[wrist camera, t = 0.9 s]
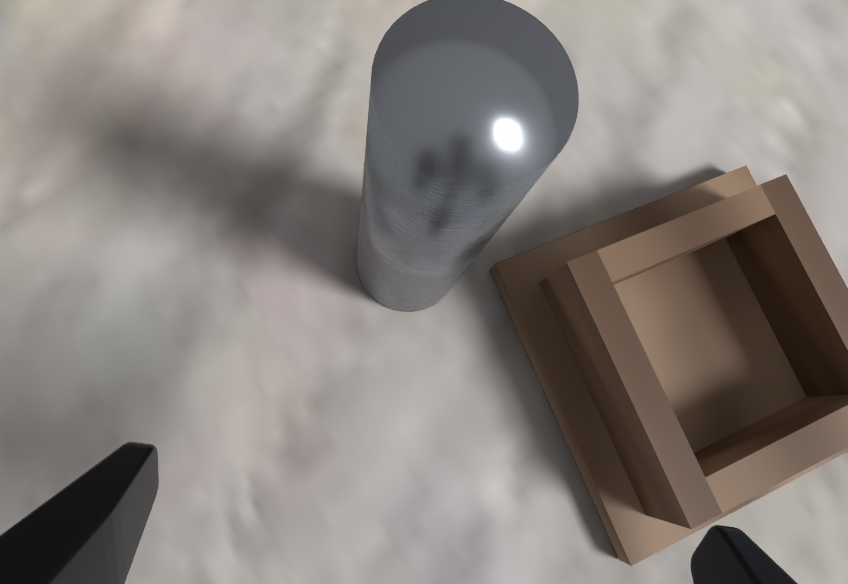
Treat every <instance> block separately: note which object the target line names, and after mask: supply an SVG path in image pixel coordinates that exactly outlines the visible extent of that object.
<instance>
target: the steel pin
mask: <svg viewBox="0 0 848 584" xmlns="http://www.w3.org/2000/svg"><path fill="white" fill-rule="evenodd" d="M577 112H578V86H577V80H576V76H575V72H574V69H573V66H572V64H571V61H570V59H569V57H568V55H567V53H566V52H565V50H564V48H563V46H562V45H561V43H560V42H559V41H558V39H557V38H556V37H555V35H554V34H553V33H552V32H551V31H550V30H549V29H548V28H547V27H546V26H545V25H544V24H543V23H541V22H540V21H539V20H538V19H537V18H536V17H534V16H533V15H531V14H530V13H528V12H527V11H525V10H523V9H521V8H519V7H517V6H516V5H514V4H511V3H509V2H506V1H503V0H428V1H425V2H423V3H421V4H419V5H417V6H415V7H413V8H412V9H410V10H409V11H407V12H406V13H405V14H403V15H402V16H401V17H400V18H399V19H398V20H397V21H396V22H394V23H393V25H392V26H391V27H390V28H389V30H388V31H387V32H386V34H385V35H384V37H383V39H382V40H381V42H380V44H379V46H378V49H377V51H376V54H375V57H374V62H373V66H372V75H371V87H370V100H369V112H368V125H367V137H366V150H365V162H364V175H363V187H362V200H361V212H360V225H359V237H358V250H357V270H358V275H359V278H360V281H361V283H362V285H363V287H364V288H365V290H366V291H367V292H368V293H369V295H370V296H371V297H372V298H373V299H375V300H376V301H377V302H379V303H380V304H382V305H383V306H385V307H387V308H390V309H393V310H397V311H404V312H413V311H419V310H423V309H426V308H428V307H430V306H433V305H434V304H436V303H437V302H439V301H440V300H441V299H442V298H443V297H444V296H445V295H446V294H447V292H448V291H449V290H450V289H451V288H452V286H453V285H454V284H455V283H456V281H457V280H458V279H459V278H460V276H461V275H462V274H463V273H464V271H465V270H466V269H467V268H468V266H469V265H470V264H471V263H472V261H473V260H474V259H475V258H476V256H477V255H478V254H479V253H480V251H481V250H482V249H483V248H484V246H485V245H486V244H487V243H488V241H489V240H490V239H491V238H492V236H493V235H494V234H495V233H496V231H497V230H498V229H499V228H500V226H501V225H502V224H503V223H504V221H505V220H506V219H507V218H508V216H509V215H510V214H511V213H512V211H513V210H514V209H515V208H516V206H517V205H518V204H519V203H520V202H521V200H522V199H523V198H524V197H525V195H526V194H527V193H528V192H529V190H530V189H531V188H532V187H533V185H534V184H535V183H536V182H537V180H538V179H539V178H540V177H541V175H542V174H543V173H544V172H545V170H546V169H547V168H548V167H549V165H550V164H551V163H552V162H553V160H554V159H555V158H556V157H557V155H558V154H559V153H560V152H561V150H562V149H563V147H564V146H565V144H566V143H567V141H568V140H569V137H570V135H571V133H572V131H573V128H574V125H575V122H576V118H577Z"/></svg>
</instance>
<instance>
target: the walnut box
mask: <svg viewBox="0 0 848 584" xmlns="http://www.w3.org/2000/svg"><path fill="white" fill-rule="evenodd" d="M490 271H491V274H492V276H493V278H494V280H495V282H496V285H497V287H498V289H499V291H500V294H501V296H502V298H503V300H504V303H505V305H506V307H507V309H508V312H509V314H510V316H511V318H512V321H513V323H514V325H515V327H516V330H517V332H518V334H519V336H520V339H521V341H522V343H523V345H524V348H525V350H526V352H527V354H528V357H529V359H530V361H531V363H532V365H533V368H534V370H535V372H536V374H537V377H538V379H539V381H540V383H541V386H542V388H543V390H544V392H545V395H546V397H547V399H548V401H549V404H550V406H551V408H552V410H553V413H554V415H555V417H556V419H557V422H558V424H559V426H560V428H561V431H562V433H563V435H564V437H565V439H566V442H567V444H568V446H569V448H570V451H571V453H572V455H573V457H574V460H575V462H576V464H577V466H578V469H579V471H580V473H581V475H582V478H583V480H584V482H585V484H586V487H587V489H588V491H589V493H590V496H591V498H592V500H593V502H594V505H595V507H596V509H597V511H598V514H599V516H600V518H601V520H602V522H603V525H604V527H605V529H606V531H607V534H608V536H609V538H610V540H611V543H612V545H613V547H614V549H615V552H616V554H617V556H618V558H619V560H621V561H623V562H625V563H627V564H629V565H631V566H632V565H634V564H636V563H638V562H640V561H641V560H643V559H645V558H647V557H649V556H651V555H653V554H655V553H657V552H658V551H660V550H662V549H664V548H666V547H668V546H670V545H672V544H674V543H675V542H677V541H679V540H681V539H683V538H685V537H687V536H689V535H691V534H692V533H694V532H696V531H698V530H700V529H702V528H704V527H706V526H708V525H709V524H711V523H713V522H715V521H717V520H719V519H721V518H723V517H725V516H726V515H728V514H730V513H732V512H734V511H736V510H738V509H740V508H742V507H743V506H745V505H747V504H749V503H751V502H753V501H755V500H757V499H759V498H761V497H762V496H764V495H766V494H768V493H770V492H772V491H774V490H776V489H778V488H779V487H781V486H783V485H785V484H787V483H789V482H791V481H793V480H795V479H796V478H798V477H800V476H802V475H804V474H806V473H808V472H810V471H812V470H813V469H815V468H817V467H819V466H821V465H823V464H825V463H827V462H829V461H830V460H832V459H834V458H836V457H838V456H840V455H842V454H844V453H846V452H847V451H848V288H847V287H846V285H845V283H844V281H843V279H842V277H841V275H840V273H839V272H838V270H837V268H836V266H835V264H834V262H833V260H832V259H831V257H830V255H829V253H828V251H827V249H826V247H825V246H824V244H823V242H822V240H821V238H820V236H819V234H818V233H817V231H816V229H815V227H814V225H813V223H812V221H811V219H810V218H809V216H808V214H807V212H806V210H805V208H804V206H803V205H802V203H801V201H800V199H799V197H798V195H797V193H796V192H795V190H794V188H793V186H792V184H791V182H790V180H789V179H788V177H787V175H783V176H781V177H778V178H776V179H773V180H771V181H768V182H766V183H763V184H761V185H758V186H757V185H756V183H755V181H754V179H753V178H752V176H751V174H750V172H749V170H748V168H747V166H744V167H741V168H739V169H736V170H733V171H731V172H728V173H726V174H723V175H721V176H718V177H716V178H713V179H710V180H708V181H705V182H703V183H700V184H698V185H695V186H693V187H690V188H687V189H685V190H682V191H680V192H677V193H675V194H672V195H670V196H667V197H664V198H662V199H659V200H657V201H654V202H652V203H649V204H647V205H644V206H642V207H639V208H636V209H634V210H631V211H629V212H626V213H624V214H621V215H619V216H616V217H613V218H611V219H608V220H606V221H603V222H601V223H598V224H596V225H593V226H590V227H588V228H585V229H583V230H580V231H578V232H575V233H573V234H570V235H567V236H565V237H562V238H560V239H557V240H555V241H552V242H550V243H547V244H545V245H542V246H539V247H537V248H534V249H532V250H529V251H527V252H524V253H522V254H519V255H516V256H514V257H511V258H509V259H506V260H504V261H501V262H499V263H496V264H495V265H494V266H493V267H492V268H491V269H490Z"/></svg>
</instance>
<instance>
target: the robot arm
mask: <svg viewBox="0 0 848 584" xmlns="http://www.w3.org/2000/svg"><path fill="white" fill-rule="evenodd" d="M158 483H159V479H158V453H157V449H156V447H155V446H154V445H151V444H144V443H137V442H128V443H126V444H124V445H122V446H121V447H120V448H118V449H117V450H115V451H114V452H113V453H111V454H110V455H109V456H107V457H106V458H105V459H103V460H102V461H101V462H99V463H98V464H96V465H95V466H94V467H92V468H91V469H90V470H88V471H87V472H86V473H84V474H83V475H82V476H80V477H79V478H78V479H76V480H75V481H73V482H72V483H71V484H69V485H68V486H67V487H65V488H64V489H63V490H61V491H60V492H59V493H57V494H56V495H54V496H53V497H52V498H50V499H49V500H48V501H46V502H45V503H44V504H42V505H41V506H40V507H38V508H37V509H36V510H34V511H33V512H31V513H30V514H29V515H27V516H26V517H25V518H23V519H22V520H21V521H19V522H18V523H17V524H15V525H14V526H12V527H11V528H10V529H8V530H7V531H6V532H4V533H3V534H2V535H0V584H124V583H125V580H126V578H127V575H128V572H129V569H130V567H131V564H132V561H133V558H134V555H135V553H136V550H137V547H138V544H139V542H140V539H141V536H142V533H143V531H144V528H145V525H146V522H147V520H148V517H149V514H150V511H151V509H152V506H153V503H154V500H155V497H156V494H157V490H158ZM691 573H692V578H693V583H694V584H797V583H796V582H795V581H794V580H793V579H792V578H791V577H790V576H789V575H788V574H787V573H786V572H785V571H784V570H783V569H782V568H781V567H780V566H779V565H778V564H776V563H775V562H774V561H773V560H772V559H771V558H770V557H769V556H768V555H767V554H766V553H765V552H764V551H763V550H762V549H761V548H760V547H759V546H758V545H757V544H755V543H754V542H753V541H752V540H751V539H750V538H749V537H748V536H747V535H746V534H745V533H744V532H743V531H741V530H740V529H737V528H734V527H727V526H720V525H715V526H713V527H711V528H710V529H709V530H708V532H707V533H706V535H705V536H704V538H703V539H702V541H701V542H700V544H699V545H698V547H697V548H696V550H695V551H694V553H693V555H692V558H691Z"/></svg>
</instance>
